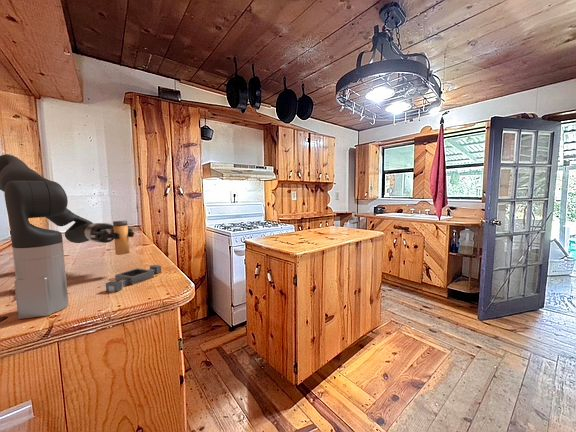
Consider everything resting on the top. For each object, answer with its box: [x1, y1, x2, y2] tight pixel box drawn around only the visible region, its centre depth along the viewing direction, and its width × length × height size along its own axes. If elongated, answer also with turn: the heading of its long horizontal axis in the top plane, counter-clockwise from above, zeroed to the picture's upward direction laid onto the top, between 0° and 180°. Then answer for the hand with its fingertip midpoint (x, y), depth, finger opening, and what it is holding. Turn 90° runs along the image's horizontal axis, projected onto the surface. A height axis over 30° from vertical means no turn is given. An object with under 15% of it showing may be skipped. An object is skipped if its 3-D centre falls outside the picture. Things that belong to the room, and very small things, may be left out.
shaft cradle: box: [105, 264, 162, 293], centre depth 88 cm, size 20×10×3 cm, turn 157°
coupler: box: [112, 220, 130, 256], centre depth 95 cm, size 4×4×12 cm
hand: (125, 235), depth 94 cm, fingers closed on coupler, 4 cm apart
